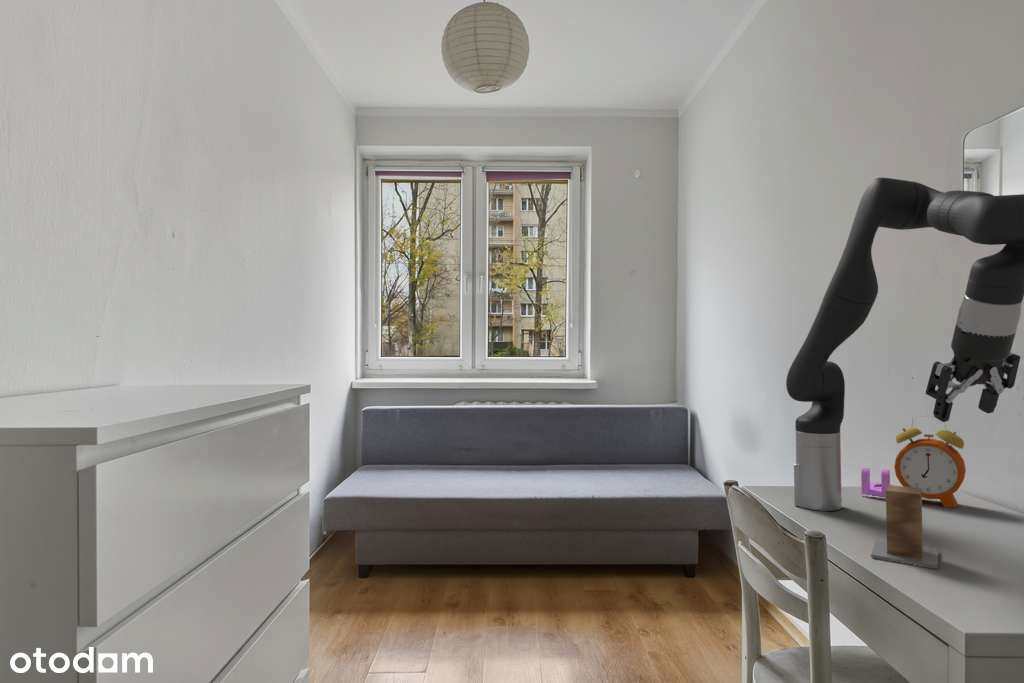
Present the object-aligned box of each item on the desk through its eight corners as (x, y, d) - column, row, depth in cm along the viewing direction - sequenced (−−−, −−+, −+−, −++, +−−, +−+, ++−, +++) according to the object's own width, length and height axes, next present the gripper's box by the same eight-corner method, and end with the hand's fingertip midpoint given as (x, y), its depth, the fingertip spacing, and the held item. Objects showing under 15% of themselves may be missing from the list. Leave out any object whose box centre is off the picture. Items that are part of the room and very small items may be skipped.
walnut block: (887, 553, 106) (885, 490, 106) (889, 545, 110) (888, 484, 110) (921, 559, 103) (920, 494, 103) (922, 550, 107) (921, 488, 107)
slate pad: (870, 557, 106) (870, 554, 106) (876, 543, 113) (876, 539, 113) (937, 569, 100) (937, 565, 100) (938, 552, 108) (938, 549, 108)
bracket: (888, 500, 144) (888, 471, 144) (861, 497, 147) (861, 468, 147) (893, 489, 154) (893, 462, 154) (868, 486, 158) (867, 459, 158)
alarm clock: (894, 500, 143) (892, 416, 143) (898, 495, 147) (897, 413, 148) (964, 510, 134) (962, 420, 134) (966, 504, 139) (964, 417, 139)
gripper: (1002, 310, 99) (979, 398, 105) (926, 322, 96) (907, 411, 103) (1048, 326, 92) (1021, 419, 98) (967, 340, 90) (944, 434, 96)
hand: (963, 415), depth 101 cm, fingers open, 8 cm apart
